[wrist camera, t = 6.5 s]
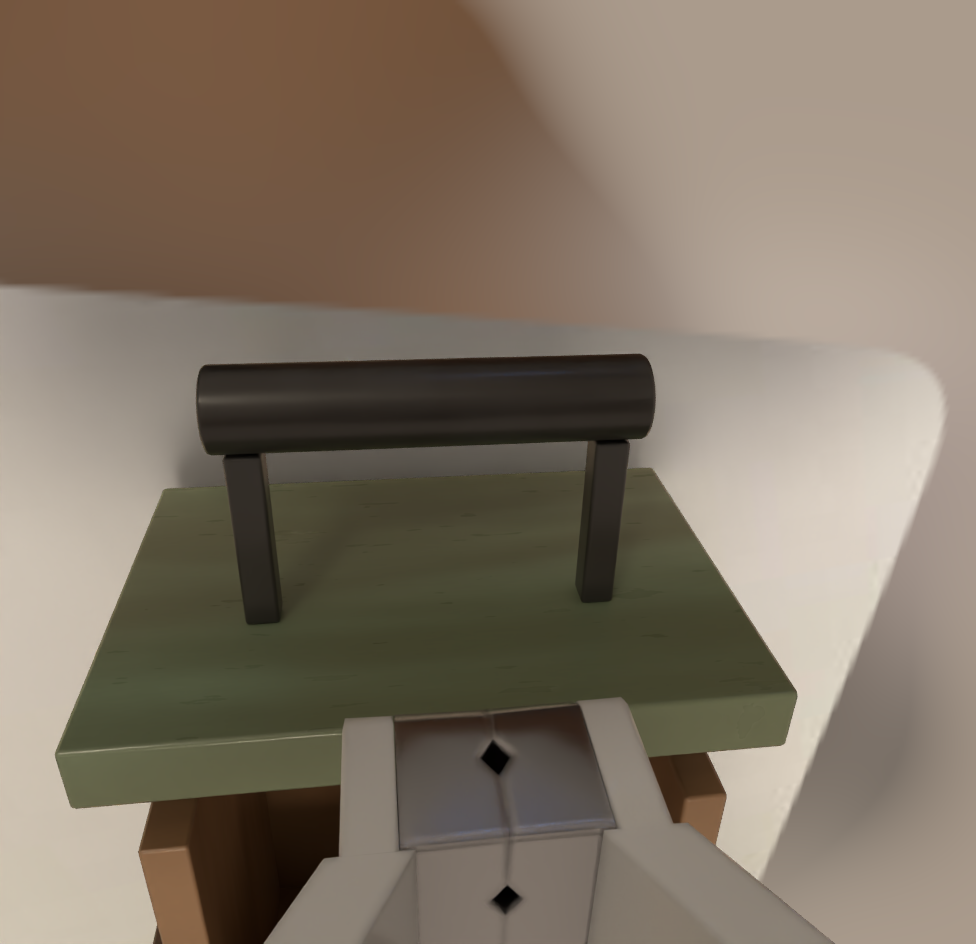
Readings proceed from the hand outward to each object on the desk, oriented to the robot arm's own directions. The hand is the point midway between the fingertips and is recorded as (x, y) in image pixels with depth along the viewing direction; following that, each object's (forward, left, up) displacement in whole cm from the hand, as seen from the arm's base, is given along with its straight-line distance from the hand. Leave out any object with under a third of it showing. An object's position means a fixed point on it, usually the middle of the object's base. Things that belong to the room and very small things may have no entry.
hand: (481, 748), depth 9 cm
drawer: (+7, 0, -11) cm, 13 cm away
